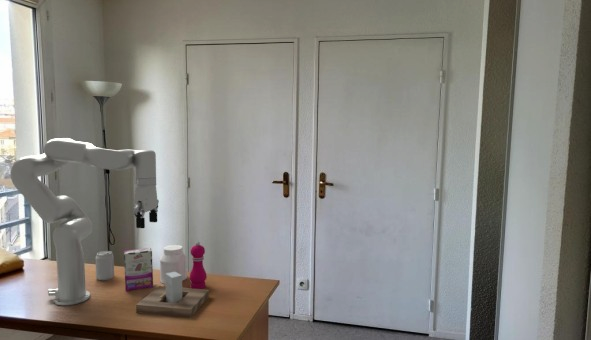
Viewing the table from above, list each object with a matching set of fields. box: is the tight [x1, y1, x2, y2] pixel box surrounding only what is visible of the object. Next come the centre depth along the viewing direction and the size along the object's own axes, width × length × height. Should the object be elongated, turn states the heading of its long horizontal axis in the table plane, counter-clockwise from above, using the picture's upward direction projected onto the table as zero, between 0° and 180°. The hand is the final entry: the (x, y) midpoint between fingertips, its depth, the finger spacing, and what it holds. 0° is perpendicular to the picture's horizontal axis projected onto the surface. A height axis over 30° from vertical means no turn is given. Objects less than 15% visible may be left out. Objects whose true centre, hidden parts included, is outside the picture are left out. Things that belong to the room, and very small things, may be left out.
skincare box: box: [165, 272, 183, 303], centre depth 157 cm, size 6×4×12 cm
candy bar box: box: [123, 247, 154, 292], centre depth 172 cm, size 11×5×16 cm, turn 114°
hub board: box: [135, 285, 210, 318], centre depth 157 cm, size 18×22×3 cm
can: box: [94, 250, 115, 282], centre depth 182 cm, size 8×8×12 cm
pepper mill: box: [189, 241, 208, 289], centre depth 174 cm, size 7×7×20 cm
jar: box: [159, 244, 188, 285], centre depth 181 cm, size 12×10×15 cm
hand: (147, 224), depth 159 cm, fingers open, 9 cm apart
